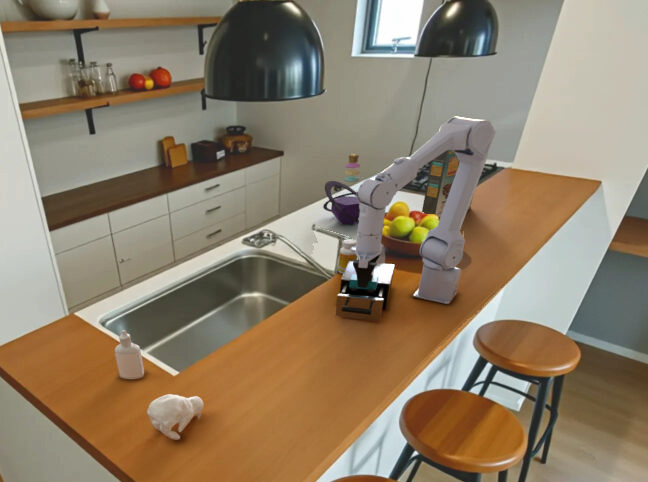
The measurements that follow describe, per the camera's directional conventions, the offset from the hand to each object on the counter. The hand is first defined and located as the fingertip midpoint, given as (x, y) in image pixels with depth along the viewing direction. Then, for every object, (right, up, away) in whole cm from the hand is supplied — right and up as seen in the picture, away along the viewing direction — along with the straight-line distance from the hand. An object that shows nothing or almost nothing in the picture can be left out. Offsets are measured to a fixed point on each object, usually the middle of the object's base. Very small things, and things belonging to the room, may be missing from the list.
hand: (363, 283), depth 123 cm
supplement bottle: (+4, +9, +27) cm, 29 cm away
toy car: (0, -1, +1) cm, 1 cm away
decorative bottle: (+15, +36, +66) cm, 76 cm away
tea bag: (+10, +7, +24) cm, 27 cm away
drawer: (0, -7, +3) cm, 8 cm away
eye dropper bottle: (-58, -24, -12) cm, 64 cm away
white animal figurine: (-46, -33, -28) cm, 63 cm away
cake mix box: (+55, +40, +67) cm, 96 cm away
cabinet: (+4, -2, +12) cm, 13 cm away
